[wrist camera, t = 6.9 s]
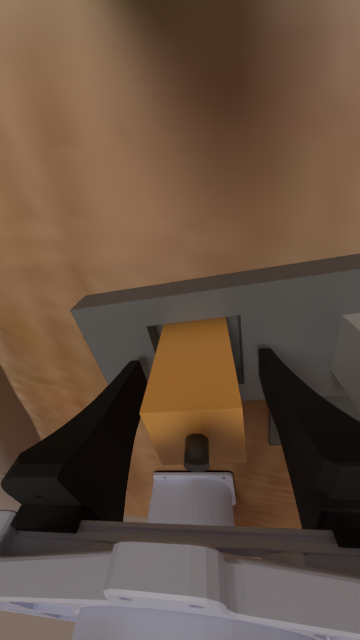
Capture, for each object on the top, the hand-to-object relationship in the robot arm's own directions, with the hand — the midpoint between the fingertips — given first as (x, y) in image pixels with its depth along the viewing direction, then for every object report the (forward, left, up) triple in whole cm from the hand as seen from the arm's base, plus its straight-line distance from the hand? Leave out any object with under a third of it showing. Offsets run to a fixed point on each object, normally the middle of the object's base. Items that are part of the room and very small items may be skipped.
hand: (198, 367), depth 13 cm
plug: (0, 0, -2) cm, 3 cm away
